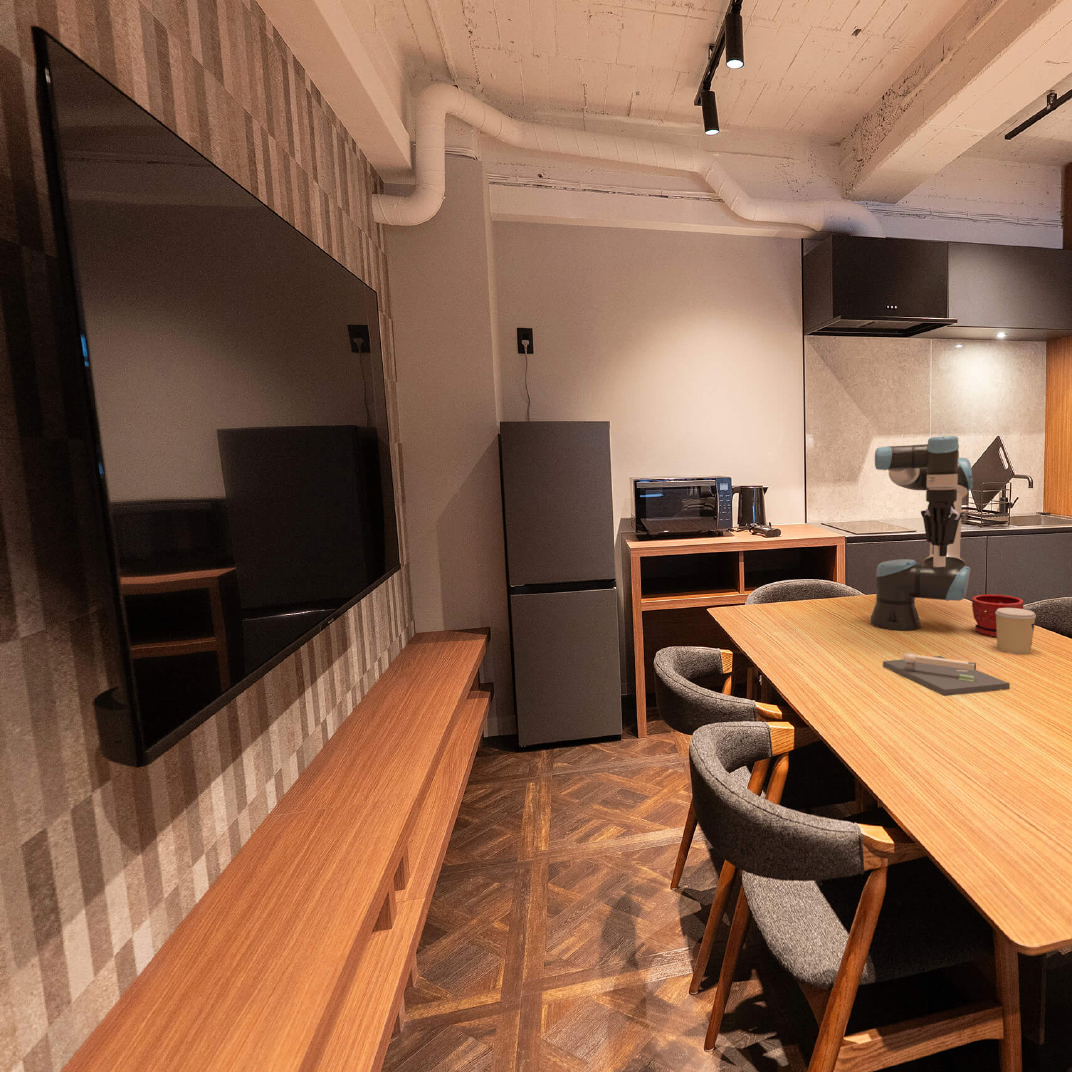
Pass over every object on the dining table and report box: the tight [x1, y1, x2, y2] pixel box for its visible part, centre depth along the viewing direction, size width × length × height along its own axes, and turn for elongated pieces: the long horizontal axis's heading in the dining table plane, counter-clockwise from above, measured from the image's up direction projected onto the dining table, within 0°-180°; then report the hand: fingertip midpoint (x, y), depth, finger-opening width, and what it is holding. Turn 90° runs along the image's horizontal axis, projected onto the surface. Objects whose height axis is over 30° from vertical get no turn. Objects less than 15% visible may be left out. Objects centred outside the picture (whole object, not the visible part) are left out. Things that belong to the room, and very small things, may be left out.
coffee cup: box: [995, 608, 1037, 655], centre depth 173 cm, size 9×9×12 cm
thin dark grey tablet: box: [882, 655, 1011, 696], centre depth 156 cm, size 22×18×4 cm
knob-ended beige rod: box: [903, 652, 977, 670], centre depth 154 cm, size 16×3×2 cm, turn 52°
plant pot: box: [971, 594, 1024, 638], centre depth 188 cm, size 13×13×12 cm
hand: (939, 566), depth 173 cm, fingers closed
